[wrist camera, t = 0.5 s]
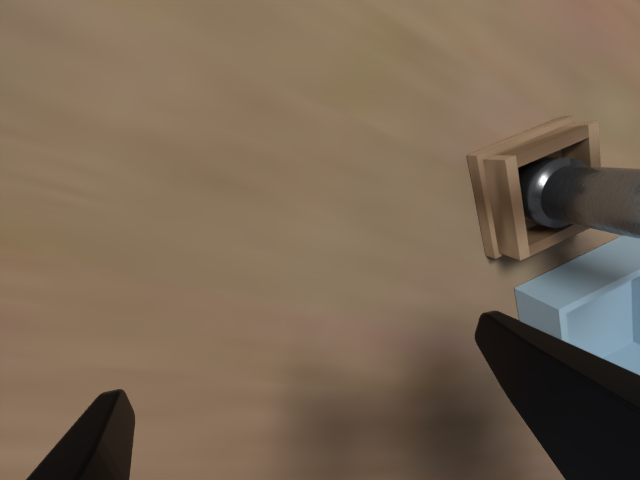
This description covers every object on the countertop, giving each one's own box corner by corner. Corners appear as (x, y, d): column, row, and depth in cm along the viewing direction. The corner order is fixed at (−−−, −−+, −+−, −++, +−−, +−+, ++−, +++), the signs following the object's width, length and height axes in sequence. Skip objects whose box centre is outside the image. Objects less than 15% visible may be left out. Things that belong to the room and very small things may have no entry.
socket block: (569, 216, 27) (608, 224, 24) (485, 255, 26) (516, 267, 23) (560, 116, 24) (602, 112, 22) (466, 155, 23) (498, 156, 20)
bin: (632, 340, 33) (683, 365, 29) (531, 395, 31) (572, 428, 28) (628, 232, 29) (687, 244, 25) (514, 288, 27) (558, 309, 24)
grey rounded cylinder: (561, 207, 25) (867, 260, 13) (510, 230, 25) (782, 308, 12) (555, 147, 24) (895, 144, 12) (501, 170, 23) (799, 193, 11)
